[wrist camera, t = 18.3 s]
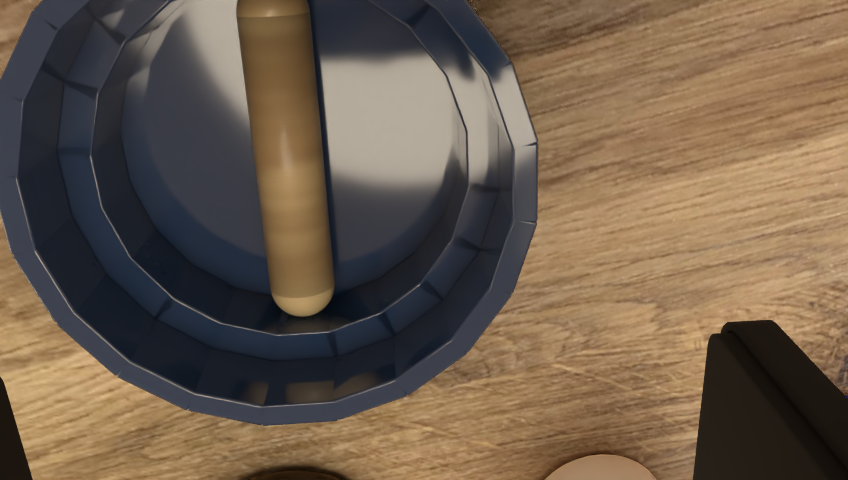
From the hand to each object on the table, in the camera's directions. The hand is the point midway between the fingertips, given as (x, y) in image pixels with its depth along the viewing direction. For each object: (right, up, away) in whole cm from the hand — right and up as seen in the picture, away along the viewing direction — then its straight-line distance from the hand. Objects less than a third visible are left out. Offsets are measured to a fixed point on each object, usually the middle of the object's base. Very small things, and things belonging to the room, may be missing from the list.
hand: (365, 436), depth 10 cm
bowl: (-4, +6, +19) cm, 20 cm away
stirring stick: (-4, +6, +18) cm, 19 cm away
